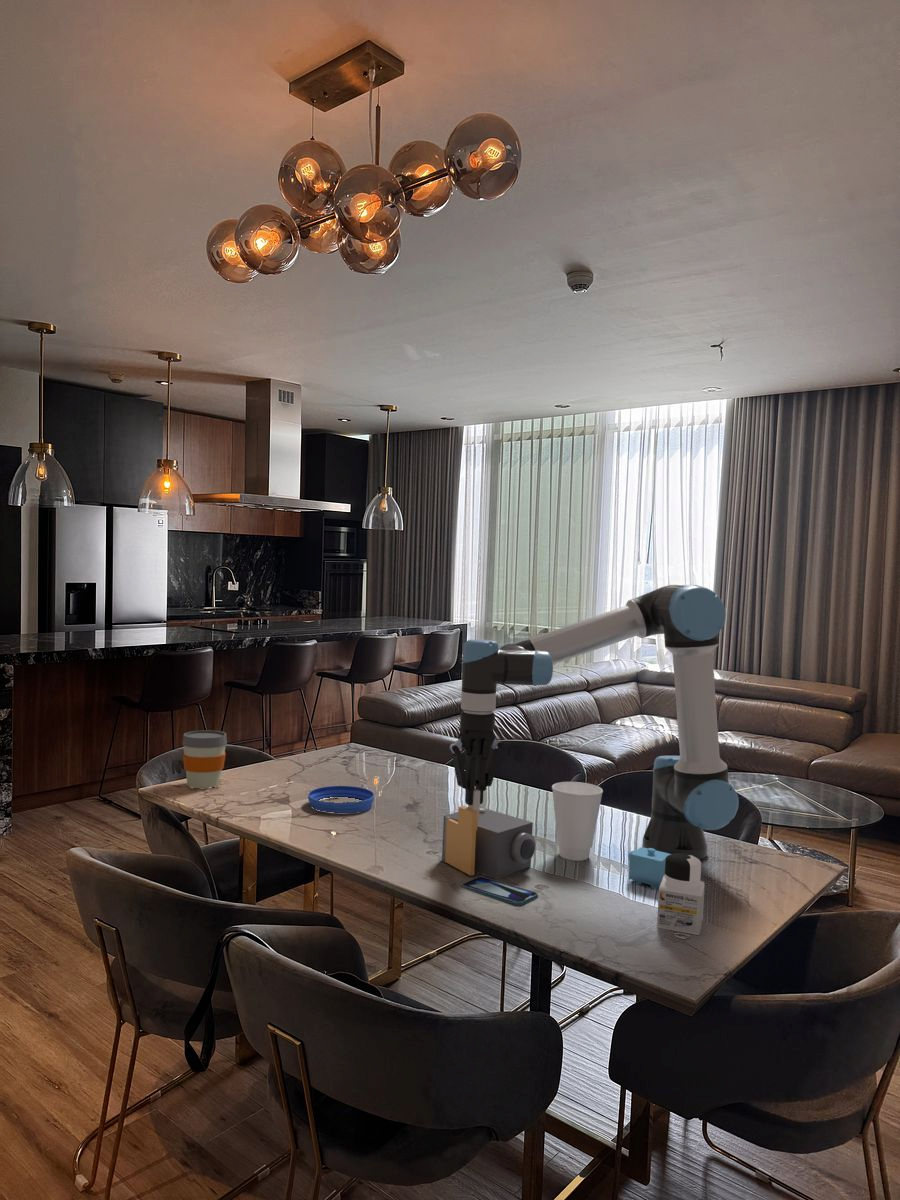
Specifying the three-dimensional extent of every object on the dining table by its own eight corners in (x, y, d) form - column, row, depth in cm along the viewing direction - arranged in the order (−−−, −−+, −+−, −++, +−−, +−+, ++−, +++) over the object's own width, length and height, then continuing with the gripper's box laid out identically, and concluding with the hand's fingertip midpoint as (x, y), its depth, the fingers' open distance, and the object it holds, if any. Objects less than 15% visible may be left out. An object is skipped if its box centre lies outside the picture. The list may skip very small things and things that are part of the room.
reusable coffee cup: (171, 785, 242) (173, 733, 241) (206, 777, 252) (208, 728, 252) (199, 793, 235) (201, 740, 234) (234, 785, 245) (236, 734, 245)
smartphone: (480, 875, 178) (539, 893, 169) (480, 880, 178) (539, 898, 169) (459, 884, 173) (519, 903, 163) (459, 889, 173) (519, 908, 163)
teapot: (686, 887, 178) (687, 852, 177) (675, 896, 173) (677, 860, 172) (633, 874, 185) (634, 840, 184) (621, 881, 180) (623, 847, 179)
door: (475, 875, 179) (478, 811, 178) (469, 876, 178) (472, 812, 177) (447, 860, 187) (450, 799, 187) (441, 861, 187) (444, 800, 186)
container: (656, 928, 156) (660, 859, 156) (661, 913, 163) (664, 847, 163) (699, 936, 153) (703, 866, 153) (702, 920, 160) (706, 853, 160)
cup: (571, 867, 187) (574, 796, 187) (538, 851, 197) (541, 784, 197) (610, 859, 193) (613, 791, 193) (576, 844, 203) (579, 779, 203)
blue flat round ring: (365, 796, 240) (366, 784, 240) (380, 814, 223) (381, 801, 223) (303, 799, 234) (303, 786, 234) (313, 817, 217) (313, 804, 217)
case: (539, 869, 185) (541, 822, 184) (505, 882, 176) (507, 832, 176) (477, 848, 197) (478, 804, 197) (442, 859, 188) (444, 813, 188)
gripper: (494, 707, 186) (490, 811, 187) (443, 709, 181) (438, 817, 181) (512, 712, 180) (507, 821, 181) (459, 715, 174) (454, 827, 175)
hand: (473, 818), depth 181 cm, fingers closed
